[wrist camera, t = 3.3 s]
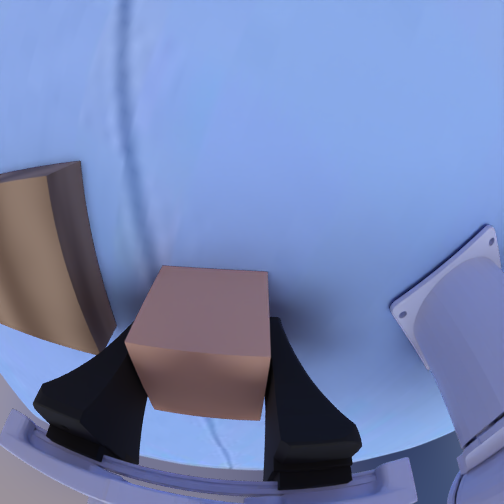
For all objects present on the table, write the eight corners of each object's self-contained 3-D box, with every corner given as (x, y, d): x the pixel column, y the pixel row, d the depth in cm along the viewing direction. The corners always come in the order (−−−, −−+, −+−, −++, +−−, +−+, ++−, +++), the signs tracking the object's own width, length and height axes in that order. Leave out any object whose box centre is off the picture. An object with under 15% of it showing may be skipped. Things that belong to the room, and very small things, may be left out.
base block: (85, 158, 11) (46, 176, 8) (119, 321, 15) (101, 356, 13) (-17, 177, 10) (-47, 193, 8) (19, 299, 15) (0, 323, 13)
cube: (267, 271, 13) (270, 357, 8) (260, 343, 15) (260, 420, 11) (162, 265, 13) (124, 342, 8) (175, 337, 15) (154, 409, 11)
